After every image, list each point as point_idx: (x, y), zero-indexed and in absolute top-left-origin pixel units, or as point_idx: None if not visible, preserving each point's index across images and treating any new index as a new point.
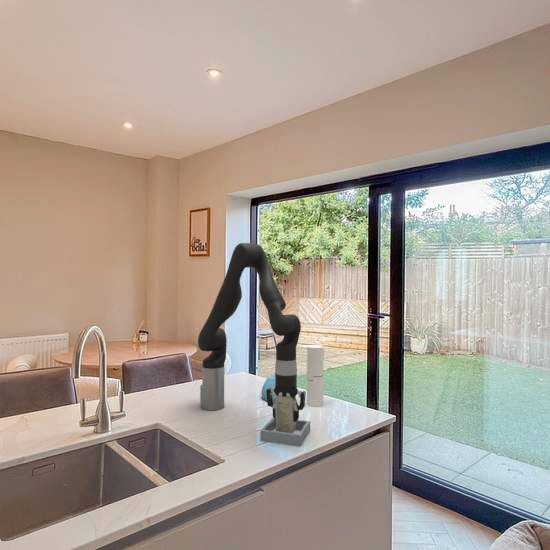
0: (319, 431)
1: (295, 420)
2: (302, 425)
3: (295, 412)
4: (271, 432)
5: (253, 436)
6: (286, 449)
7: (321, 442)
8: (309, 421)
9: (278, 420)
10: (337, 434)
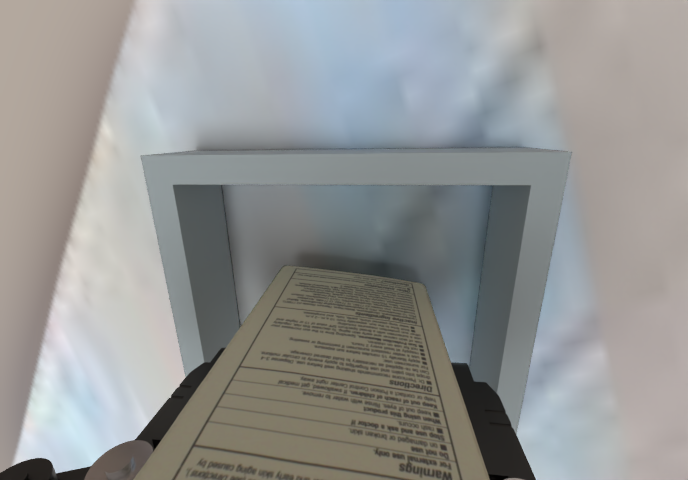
0: None
1: (220, 353)
2: None
3: (166, 427)
4: (435, 154)
5: (602, 219)
6: (268, 54)
7: (105, 255)
8: None
9: (406, 331)
10: (81, 383)
